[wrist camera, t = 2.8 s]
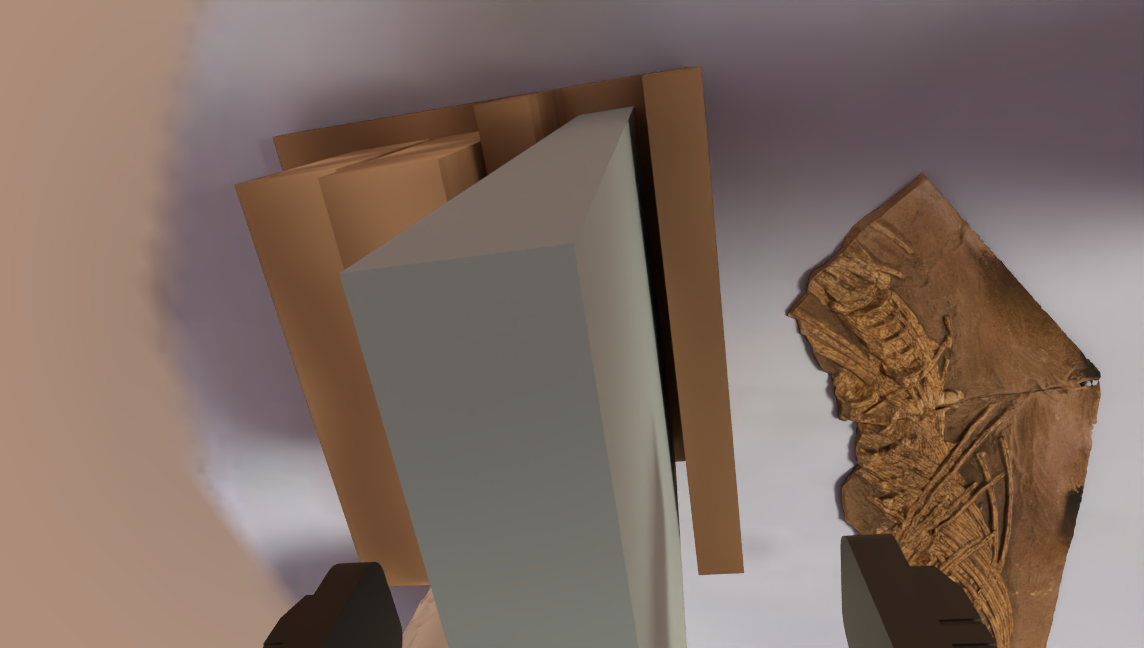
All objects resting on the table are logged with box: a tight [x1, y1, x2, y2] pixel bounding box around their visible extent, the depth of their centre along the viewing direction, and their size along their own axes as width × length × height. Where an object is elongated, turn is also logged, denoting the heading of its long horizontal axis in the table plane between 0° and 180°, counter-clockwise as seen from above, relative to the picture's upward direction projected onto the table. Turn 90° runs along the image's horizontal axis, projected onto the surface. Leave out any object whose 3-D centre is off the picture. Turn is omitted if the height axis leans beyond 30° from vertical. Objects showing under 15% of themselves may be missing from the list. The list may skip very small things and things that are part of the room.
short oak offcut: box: [235, 139, 430, 587], centre depth 24 cm, size 3×14×8 cm, turn 9°
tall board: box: [339, 106, 687, 648], centre depth 17 cm, size 2×14×20 cm, turn 9°
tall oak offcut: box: [318, 131, 488, 270], centre depth 22 cm, size 3×14×10 cm, turn 9°
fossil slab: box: [788, 173, 1101, 648], centre depth 29 cm, size 26×11×1 cm, turn 20°
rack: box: [273, 67, 744, 575], centre depth 25 cm, size 16×16×8 cm
